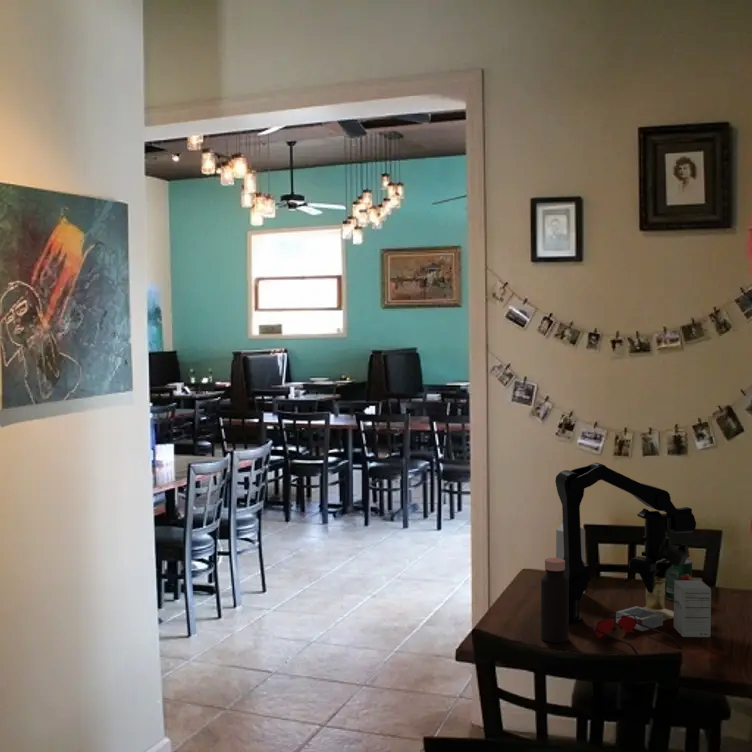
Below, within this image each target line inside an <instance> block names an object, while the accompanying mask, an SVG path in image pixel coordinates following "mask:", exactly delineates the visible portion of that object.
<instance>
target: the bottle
mask: <svg viewBox="0 0 752 752" xmlns="http://www.w3.org/2000/svg"><path fill="white" fill-rule="evenodd" d="M544 569H545V570H544V571H545V574H544V575H543V576H542V578H541V579H540V638H541V640H543V641H545V642H546V643H551V644H561V643H566V642H568V641H569V640H568V639H569V629H570V627H569V624H570V623H569V581H568V579H567V578H566V577H565V576H564V571H565V560H563V559H560V558H556V557H548V558H545V559H544Z"/></svg>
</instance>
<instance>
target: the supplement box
mask: <svg viewBox="0 0 752 752" xmlns="http://www.w3.org/2000/svg"><path fill="white" fill-rule="evenodd" d="M673 611H674V618H673V628H674V630H676V631H677V632H678V633H679V634H680V636H681V637H682V638H710V637H711V632H712V631H711V630H712V629H711V627H712V626H711V621H712V620H711V618H712V617H711V616H712V614H711V613H712V589H711V587H710V586H708V585H707V584H706V583H705V582H704V581H702V580H699V579H698V580H695V579H692V580H676V581H674V601H673Z"/></svg>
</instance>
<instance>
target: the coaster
mask: <svg viewBox="0 0 752 752" xmlns="http://www.w3.org/2000/svg"><path fill="white" fill-rule="evenodd" d="M641 608H645V609H648V610H651V611H655V612H658V613H661V614H663V622H664V621H667V620H671V619H674V610H671V609H667V608H665V609H662V610H653V609H649V608H647V607H646V606H642V607H641Z"/></svg>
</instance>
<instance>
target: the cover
mask: <svg viewBox="0 0 752 752" xmlns="http://www.w3.org/2000/svg"><path fill="white" fill-rule="evenodd" d="M665 581H666V578H665V577H662V576H656V575H655V580H654V587H653V592H652V593H649V592H648V590H647V588H646V587H645V607H647V608H649V609H653V610H662V609H666V598H665Z"/></svg>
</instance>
